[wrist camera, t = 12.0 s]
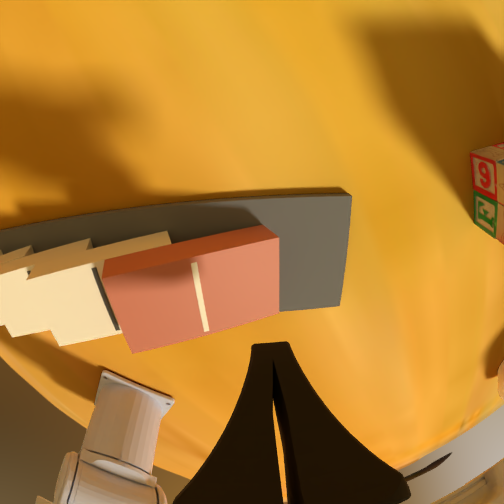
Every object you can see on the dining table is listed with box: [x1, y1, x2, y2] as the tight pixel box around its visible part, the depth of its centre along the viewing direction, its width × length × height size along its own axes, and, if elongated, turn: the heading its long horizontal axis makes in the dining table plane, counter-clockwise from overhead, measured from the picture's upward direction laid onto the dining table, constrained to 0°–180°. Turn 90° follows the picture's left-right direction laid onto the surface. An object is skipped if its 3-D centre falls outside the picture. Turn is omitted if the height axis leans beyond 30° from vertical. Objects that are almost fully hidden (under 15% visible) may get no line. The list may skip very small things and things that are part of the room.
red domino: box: [102, 225, 279, 354], centre depth 15 cm, size 2×5×9 cm
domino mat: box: [0, 193, 352, 312], centre depth 17 cm, size 28×8×1 cm, turn 93°
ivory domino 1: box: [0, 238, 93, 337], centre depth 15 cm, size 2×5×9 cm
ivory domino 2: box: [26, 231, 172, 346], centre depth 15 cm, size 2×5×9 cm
